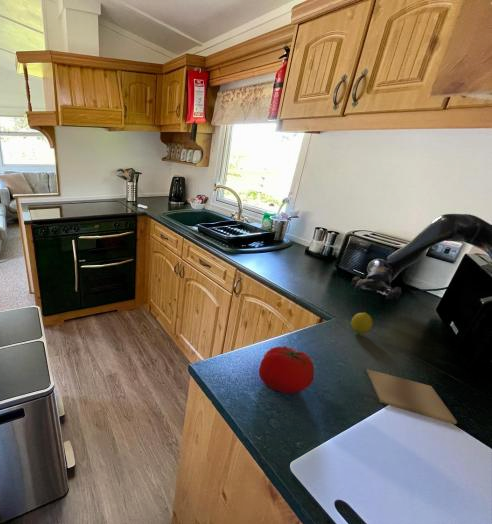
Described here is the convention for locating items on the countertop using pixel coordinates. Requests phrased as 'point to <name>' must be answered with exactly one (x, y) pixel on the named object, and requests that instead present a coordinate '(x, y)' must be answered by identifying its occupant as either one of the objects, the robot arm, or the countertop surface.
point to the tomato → (286, 370)
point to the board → (409, 396)
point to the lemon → (361, 323)
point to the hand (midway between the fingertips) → (373, 292)
